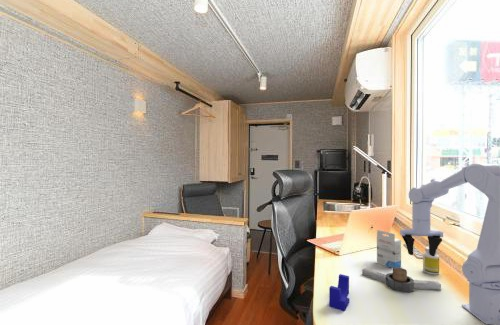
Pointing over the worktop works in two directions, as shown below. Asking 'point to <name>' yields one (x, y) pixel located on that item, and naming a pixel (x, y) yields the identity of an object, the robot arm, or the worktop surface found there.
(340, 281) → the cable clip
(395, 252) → the ink box
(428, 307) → the worktop surface
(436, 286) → the coupling collar
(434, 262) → the supplement bottle
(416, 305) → the worktop surface
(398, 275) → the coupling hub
